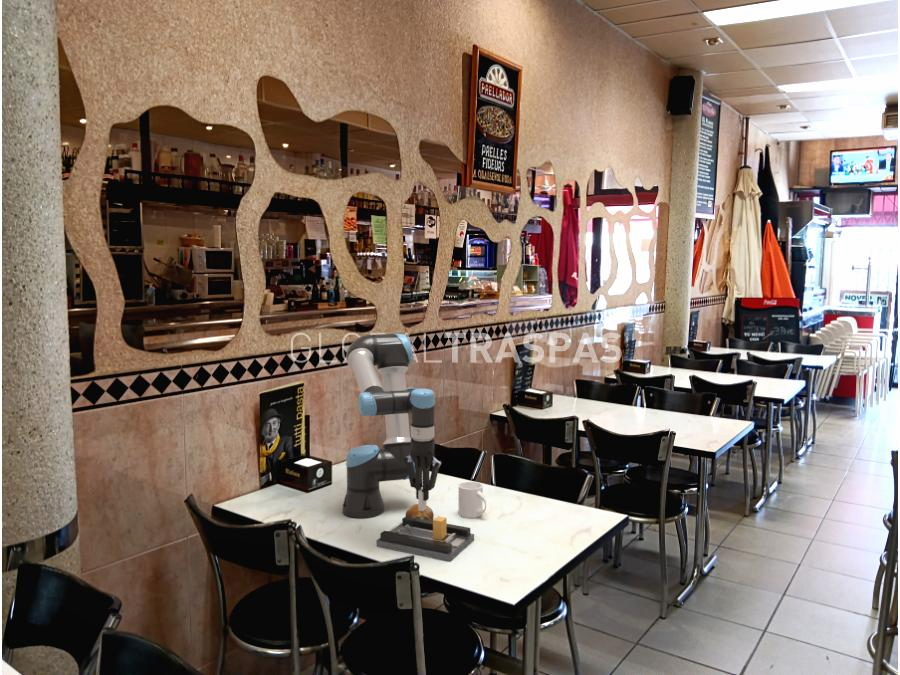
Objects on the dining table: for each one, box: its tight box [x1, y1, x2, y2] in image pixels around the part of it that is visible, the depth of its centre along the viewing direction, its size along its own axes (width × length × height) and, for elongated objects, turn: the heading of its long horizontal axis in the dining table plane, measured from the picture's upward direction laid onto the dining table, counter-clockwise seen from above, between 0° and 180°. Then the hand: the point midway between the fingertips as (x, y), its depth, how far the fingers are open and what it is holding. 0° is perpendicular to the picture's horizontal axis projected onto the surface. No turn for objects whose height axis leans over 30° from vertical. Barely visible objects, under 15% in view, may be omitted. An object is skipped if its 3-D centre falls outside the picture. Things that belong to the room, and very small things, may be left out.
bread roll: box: [405, 503, 435, 521], centre depth 244 cm, size 10×10×8 cm
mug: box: [458, 481, 487, 519], centre depth 248 cm, size 9×12×11 cm
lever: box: [433, 516, 448, 541], centre depth 222 cm, size 3×4×7 cm
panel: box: [376, 515, 475, 562], centre depth 225 cm, size 26×18×4 cm
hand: (422, 509), depth 225 cm, fingers closed
